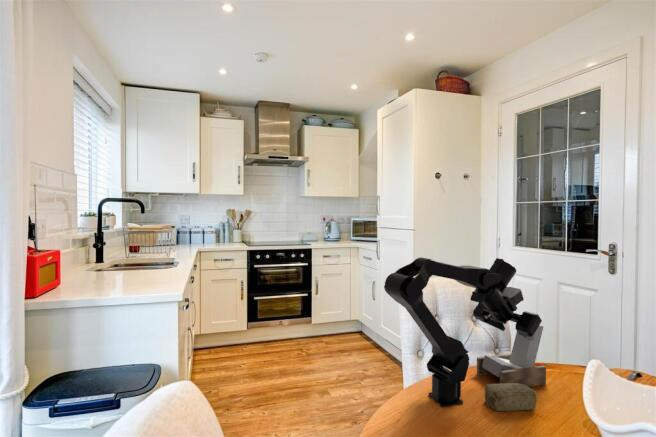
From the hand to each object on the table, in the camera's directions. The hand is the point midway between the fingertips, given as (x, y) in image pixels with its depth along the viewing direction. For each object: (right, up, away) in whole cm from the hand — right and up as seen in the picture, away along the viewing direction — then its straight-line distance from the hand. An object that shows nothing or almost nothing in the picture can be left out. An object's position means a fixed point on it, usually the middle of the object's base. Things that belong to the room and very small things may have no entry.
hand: (517, 334), depth 106 cm
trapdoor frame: (-2, -13, 0) cm, 13 cm away
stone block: (-10, -14, -15) cm, 22 cm away
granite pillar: (+2, -10, +1) cm, 10 cm away
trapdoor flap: (-3, -12, 0) cm, 12 cm away
